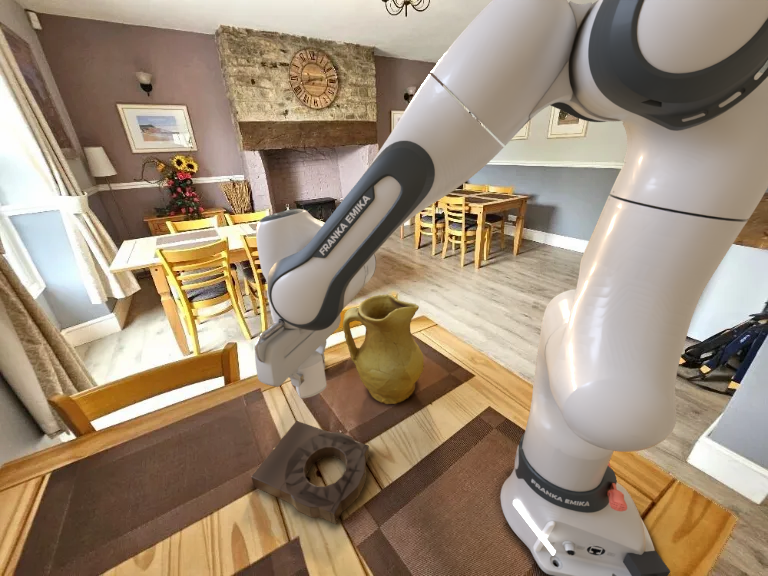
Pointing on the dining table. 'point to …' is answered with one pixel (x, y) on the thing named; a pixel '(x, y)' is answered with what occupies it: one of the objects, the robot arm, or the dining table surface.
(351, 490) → the grey ring plate
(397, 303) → the pitcher
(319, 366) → the eye dropper bottle
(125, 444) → the dining table surface
